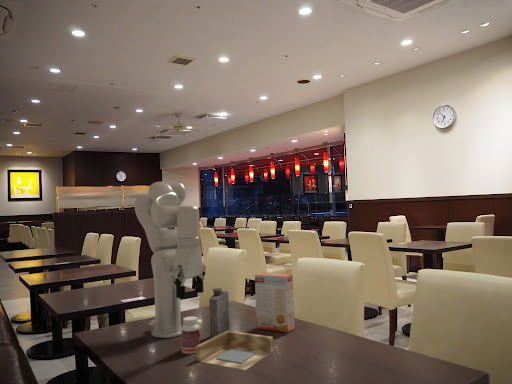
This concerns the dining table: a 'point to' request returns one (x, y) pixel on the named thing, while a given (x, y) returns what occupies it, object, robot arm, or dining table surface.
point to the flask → (219, 312)
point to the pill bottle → (190, 335)
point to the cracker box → (274, 302)
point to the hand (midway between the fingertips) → (190, 295)
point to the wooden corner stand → (234, 341)
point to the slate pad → (236, 356)
